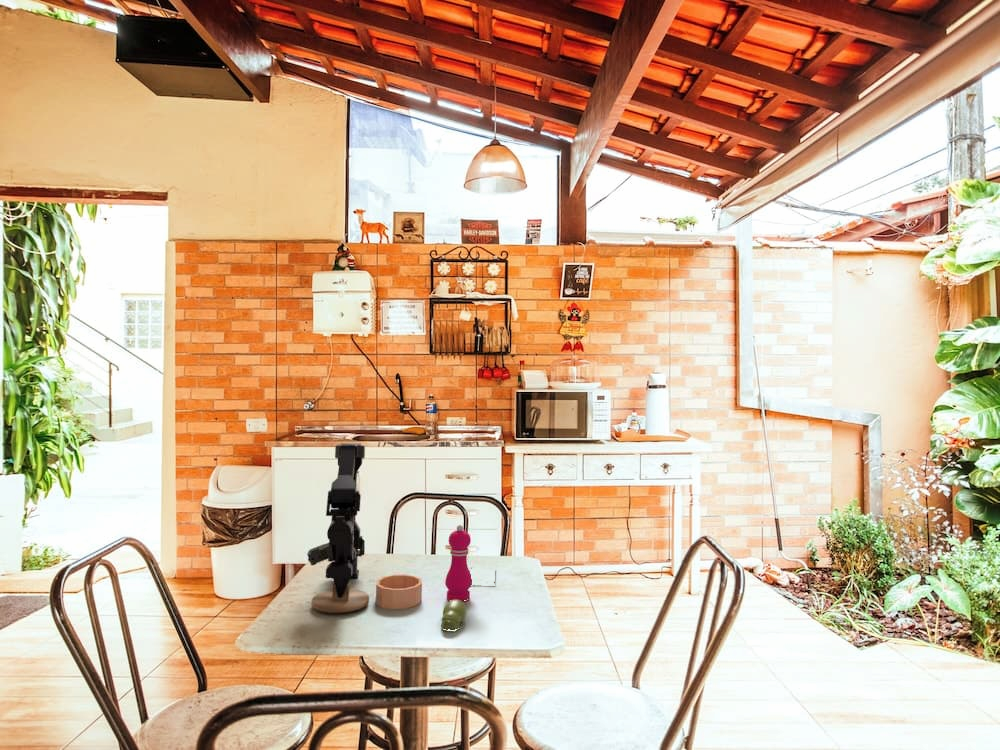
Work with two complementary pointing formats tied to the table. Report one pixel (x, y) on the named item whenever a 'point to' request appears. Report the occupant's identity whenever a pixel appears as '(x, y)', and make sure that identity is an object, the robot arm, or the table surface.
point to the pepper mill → (459, 566)
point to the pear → (453, 614)
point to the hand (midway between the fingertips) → (340, 594)
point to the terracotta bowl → (398, 591)
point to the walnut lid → (340, 600)
